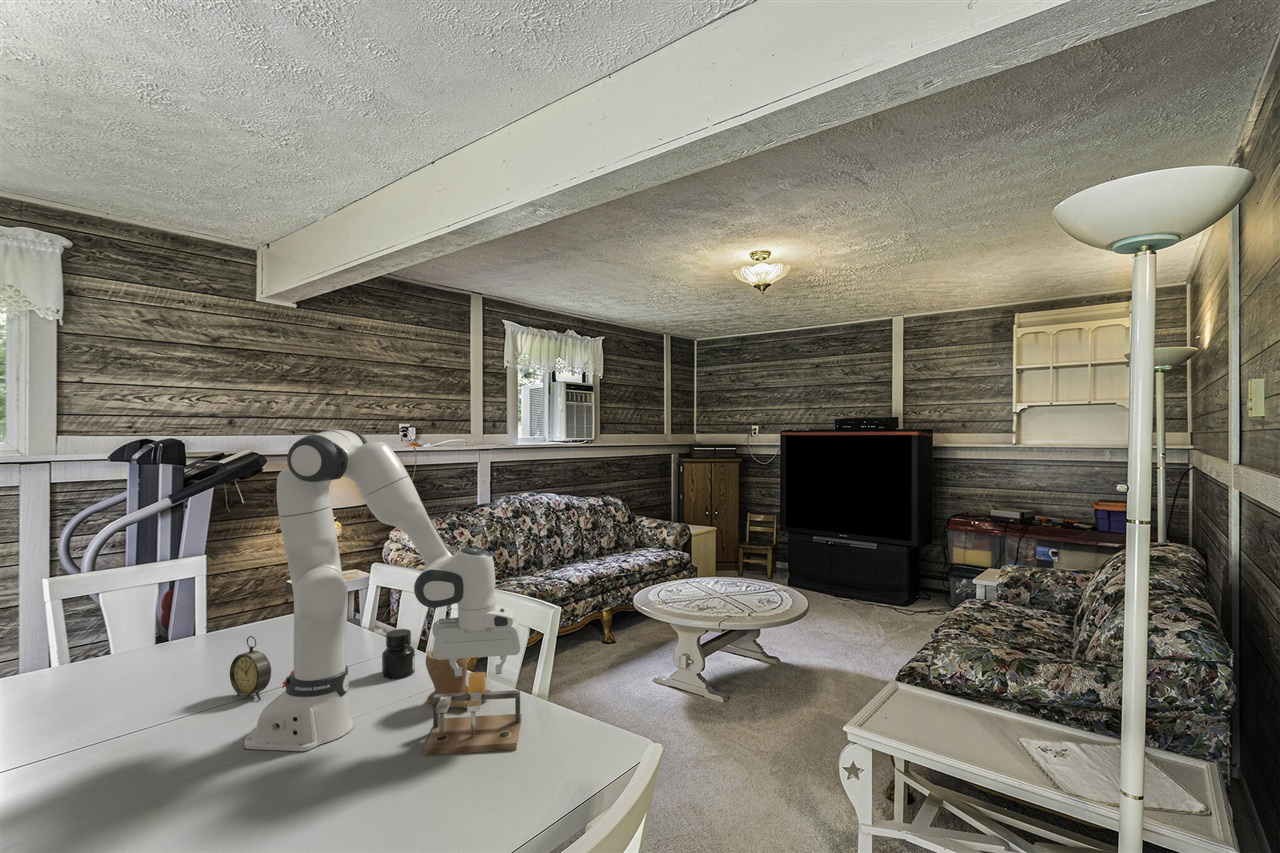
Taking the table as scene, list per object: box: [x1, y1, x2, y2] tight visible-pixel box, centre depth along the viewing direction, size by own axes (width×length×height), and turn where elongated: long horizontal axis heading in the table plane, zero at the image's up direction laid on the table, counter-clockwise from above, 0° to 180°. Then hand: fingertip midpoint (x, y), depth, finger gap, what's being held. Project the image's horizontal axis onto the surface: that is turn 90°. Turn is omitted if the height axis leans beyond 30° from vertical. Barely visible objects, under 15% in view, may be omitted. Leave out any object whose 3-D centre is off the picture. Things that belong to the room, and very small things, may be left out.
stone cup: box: [425, 648, 492, 709], centre depth 160 cm, size 15×12×15 cm
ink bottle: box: [381, 628, 416, 680], centre depth 180 cm, size 10×9×12 cm
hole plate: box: [423, 689, 522, 756], centre depth 143 cm, size 20×14×9 cm
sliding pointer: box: [466, 671, 487, 736], centre depth 144 cm, size 4×8×11 cm, turn 6°
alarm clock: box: [229, 635, 272, 701], centre depth 165 cm, size 11×5×16 cm, turn 68°
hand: (478, 674), depth 146 cm, fingers open, 8 cm apart
